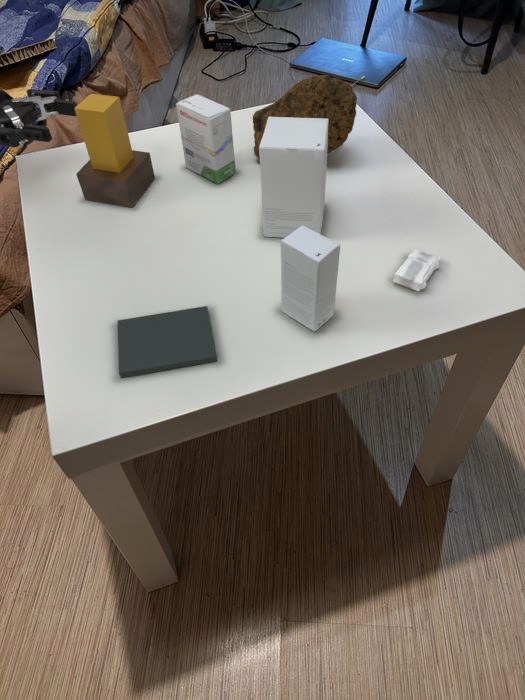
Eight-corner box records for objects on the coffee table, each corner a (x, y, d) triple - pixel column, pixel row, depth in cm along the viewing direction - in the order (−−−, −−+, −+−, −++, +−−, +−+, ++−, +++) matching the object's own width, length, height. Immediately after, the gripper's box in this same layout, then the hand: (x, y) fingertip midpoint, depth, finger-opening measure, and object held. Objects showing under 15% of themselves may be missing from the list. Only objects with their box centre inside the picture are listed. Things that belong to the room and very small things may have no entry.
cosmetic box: (334, 315, 70) (342, 244, 61) (314, 333, 68) (319, 262, 59) (300, 294, 73) (302, 223, 63) (279, 311, 71) (279, 240, 61)
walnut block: (84, 200, 89) (75, 173, 85) (109, 171, 94) (102, 145, 90) (132, 208, 87) (125, 181, 83) (155, 178, 92) (149, 152, 88)
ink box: (237, 173, 93) (232, 107, 84) (217, 185, 90) (209, 118, 81) (204, 156, 96) (196, 91, 87) (184, 167, 94) (173, 102, 85)
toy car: (388, 284, 73) (391, 272, 72) (411, 252, 77) (414, 240, 76) (420, 296, 72) (423, 284, 70) (442, 263, 76) (445, 251, 74)
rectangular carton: (324, 206, 85) (331, 116, 74) (320, 241, 80) (326, 149, 68) (269, 203, 87) (267, 114, 75) (261, 237, 81) (257, 146, 69)
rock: (295, 176, 104) (384, 119, 92) (271, 191, 95) (366, 131, 83) (261, 114, 101) (348, 47, 89) (232, 124, 92) (325, 51, 80)
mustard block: (92, 168, 86) (74, 108, 78) (107, 153, 89) (90, 93, 81) (120, 173, 85) (103, 112, 77) (133, 157, 88) (119, 96, 80)
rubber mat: (120, 378, 64) (118, 373, 64) (119, 325, 70) (117, 320, 69) (217, 361, 66) (216, 356, 65) (207, 310, 71) (207, 305, 70)
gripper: (12, 112, 94) (92, 123, 91) (-39, 153, 85) (47, 166, 82) (-6, 69, 88) (79, 78, 85) (-62, 107, 80) (29, 119, 76)
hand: (63, 121), depth 83 cm, fingers open, 8 cm apart
